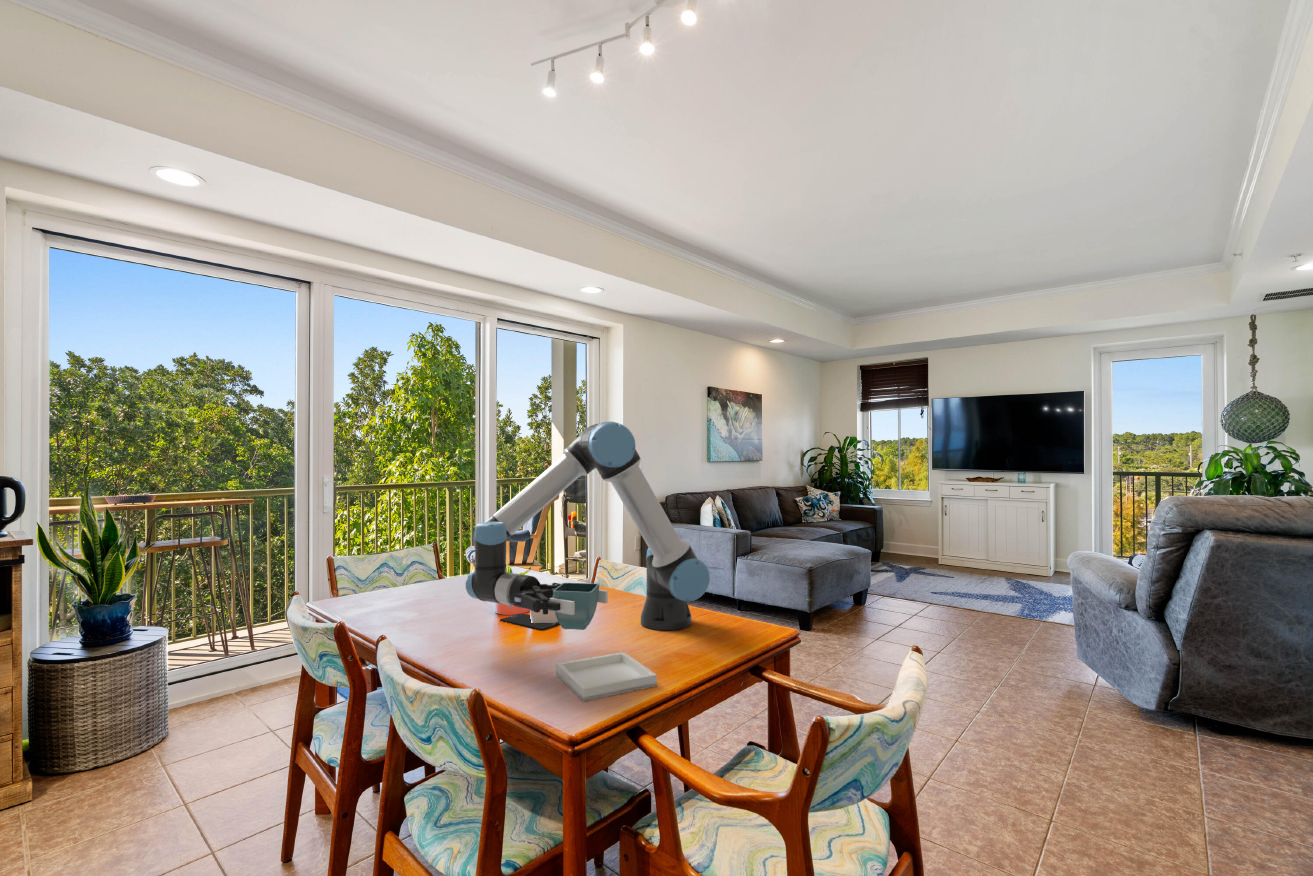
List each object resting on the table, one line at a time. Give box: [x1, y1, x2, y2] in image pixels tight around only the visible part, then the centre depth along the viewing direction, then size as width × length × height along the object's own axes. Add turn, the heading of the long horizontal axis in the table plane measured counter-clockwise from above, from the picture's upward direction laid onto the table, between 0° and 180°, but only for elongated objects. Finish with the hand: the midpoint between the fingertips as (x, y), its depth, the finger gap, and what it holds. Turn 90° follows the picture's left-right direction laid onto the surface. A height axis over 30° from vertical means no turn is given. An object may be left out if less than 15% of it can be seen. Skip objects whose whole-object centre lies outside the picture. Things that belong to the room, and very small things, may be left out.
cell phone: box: [499, 613, 561, 632], centre depth 182 cm, size 9×18×1 cm, turn 56°
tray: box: [555, 651, 658, 702], centre depth 136 cm, size 17×17×2 cm
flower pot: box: [553, 582, 600, 631], centre depth 137 cm, size 9×9×9 cm
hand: (590, 602), depth 134 cm, fingers closed on flower pot, 11 cm apart
